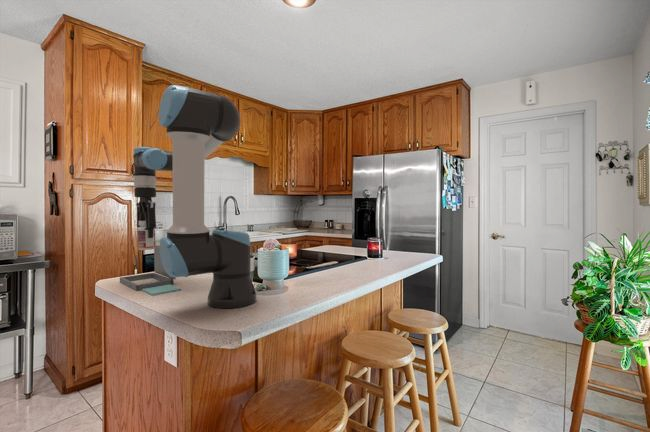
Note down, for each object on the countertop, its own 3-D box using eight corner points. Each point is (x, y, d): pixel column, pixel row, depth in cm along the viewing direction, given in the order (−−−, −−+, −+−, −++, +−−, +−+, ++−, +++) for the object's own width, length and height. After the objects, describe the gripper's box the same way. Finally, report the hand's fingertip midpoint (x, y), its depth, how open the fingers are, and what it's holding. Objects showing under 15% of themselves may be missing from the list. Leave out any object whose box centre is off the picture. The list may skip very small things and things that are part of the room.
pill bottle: (156, 249, 131) (155, 220, 131) (138, 250, 128) (137, 221, 128) (154, 247, 136) (153, 220, 136) (137, 249, 133) (136, 220, 133)
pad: (181, 290, 123) (181, 288, 123) (152, 295, 116) (152, 293, 116) (169, 285, 130) (169, 284, 130) (142, 290, 123) (142, 289, 123)
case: (175, 284, 133) (175, 249, 132) (136, 290, 122) (135, 252, 122) (156, 276, 146) (155, 245, 146) (119, 282, 136) (119, 248, 136)
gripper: (164, 186, 128) (166, 246, 128) (146, 188, 141) (148, 243, 141) (143, 185, 122) (145, 248, 123) (126, 188, 135) (128, 245, 136)
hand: (146, 245), depth 132 cm, fingers closed on pill bottle, 6 cm apart
